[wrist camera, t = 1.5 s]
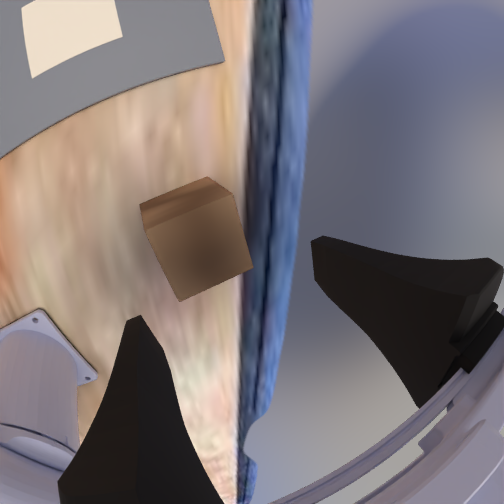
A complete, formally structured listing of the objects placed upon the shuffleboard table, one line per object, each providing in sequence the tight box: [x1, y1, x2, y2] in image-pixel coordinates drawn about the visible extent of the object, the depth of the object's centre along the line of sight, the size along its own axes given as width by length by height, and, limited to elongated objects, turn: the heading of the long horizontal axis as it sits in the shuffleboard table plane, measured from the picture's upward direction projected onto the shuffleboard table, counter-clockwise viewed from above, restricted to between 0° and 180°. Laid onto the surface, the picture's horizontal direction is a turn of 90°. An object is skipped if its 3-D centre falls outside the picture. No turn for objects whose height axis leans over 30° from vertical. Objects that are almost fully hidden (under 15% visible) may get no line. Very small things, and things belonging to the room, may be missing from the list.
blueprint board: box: [0, 0, 225, 159], centre depth 8 cm, size 16×12×1 cm
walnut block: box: [140, 176, 253, 302], centre depth 16 cm, size 4×4×4 cm
